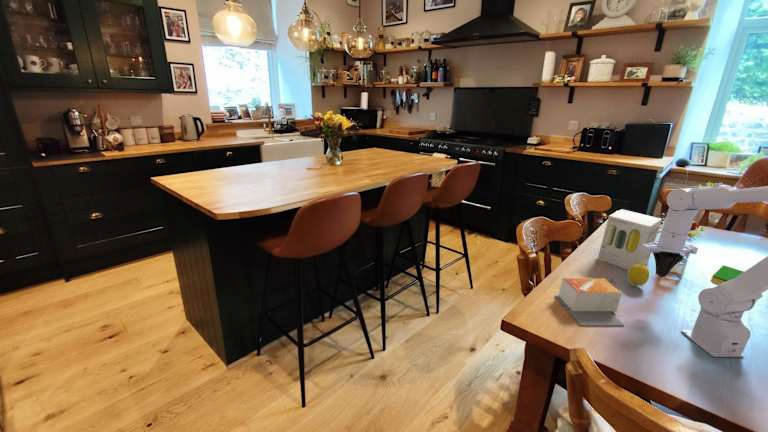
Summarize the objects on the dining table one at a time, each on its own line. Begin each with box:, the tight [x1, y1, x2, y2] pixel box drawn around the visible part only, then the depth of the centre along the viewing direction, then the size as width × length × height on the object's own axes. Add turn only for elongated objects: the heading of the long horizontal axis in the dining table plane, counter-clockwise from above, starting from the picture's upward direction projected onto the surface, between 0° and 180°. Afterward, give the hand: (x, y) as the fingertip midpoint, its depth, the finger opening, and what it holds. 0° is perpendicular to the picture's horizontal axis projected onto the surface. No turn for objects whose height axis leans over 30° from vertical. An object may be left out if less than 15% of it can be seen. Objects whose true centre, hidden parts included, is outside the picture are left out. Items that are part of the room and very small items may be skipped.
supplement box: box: [597, 208, 663, 271], centre depth 130 cm, size 13×13×18 cm
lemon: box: [627, 264, 650, 287], centre depth 115 cm, size 6×6×8 cm
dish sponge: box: [710, 265, 745, 285], centre depth 122 cm, size 7×14×2 cm, turn 127°
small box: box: [558, 277, 623, 312], centre depth 103 cm, size 8×6×13 cm
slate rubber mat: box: [554, 295, 625, 327], centre depth 102 cm, size 14×12×1 cm
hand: (660, 275), depth 102 cm, fingers closed
